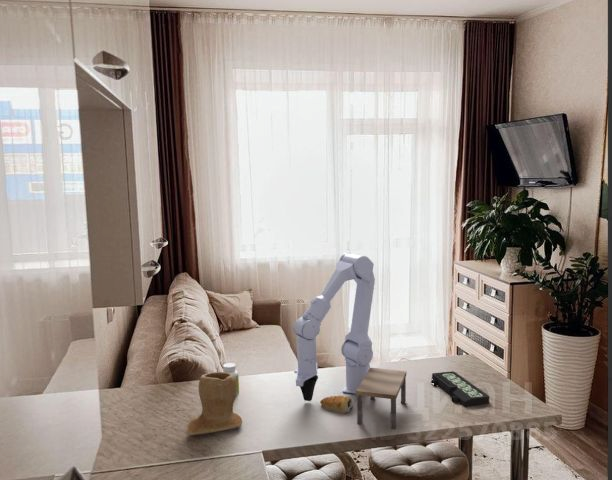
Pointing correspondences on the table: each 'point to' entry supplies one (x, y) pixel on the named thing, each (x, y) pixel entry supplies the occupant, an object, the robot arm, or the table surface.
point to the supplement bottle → (231, 369)
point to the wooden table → (382, 389)
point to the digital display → (460, 389)
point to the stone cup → (216, 404)
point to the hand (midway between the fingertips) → (308, 399)
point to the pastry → (337, 403)
